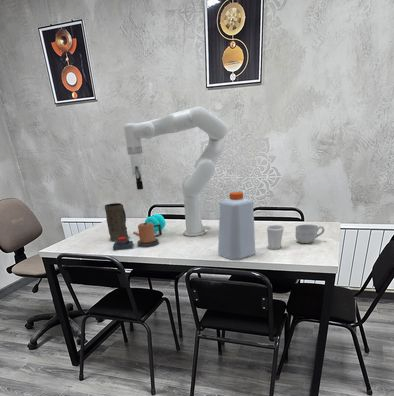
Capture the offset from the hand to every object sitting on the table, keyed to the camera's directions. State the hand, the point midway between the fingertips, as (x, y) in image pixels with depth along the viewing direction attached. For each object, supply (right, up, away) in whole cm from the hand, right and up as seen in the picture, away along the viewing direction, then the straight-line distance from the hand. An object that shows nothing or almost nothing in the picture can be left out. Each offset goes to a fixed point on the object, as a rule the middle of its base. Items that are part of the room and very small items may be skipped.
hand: (140, 189), depth 186 cm
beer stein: (-15, -21, +19) cm, 32 cm away
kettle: (+4, -27, +4) cm, 28 cm away
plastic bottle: (+50, -40, -20) cm, 67 cm away
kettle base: (+4, -29, +4) cm, 29 cm away
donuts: (+6, -16, +26) cm, 31 cm away
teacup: (+88, -32, -10) cm, 94 cm away
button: (-10, -28, 0) cm, 30 cm away
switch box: (-9, -31, +2) cm, 33 cm away
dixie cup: (+70, -36, -15) cm, 80 cm away
